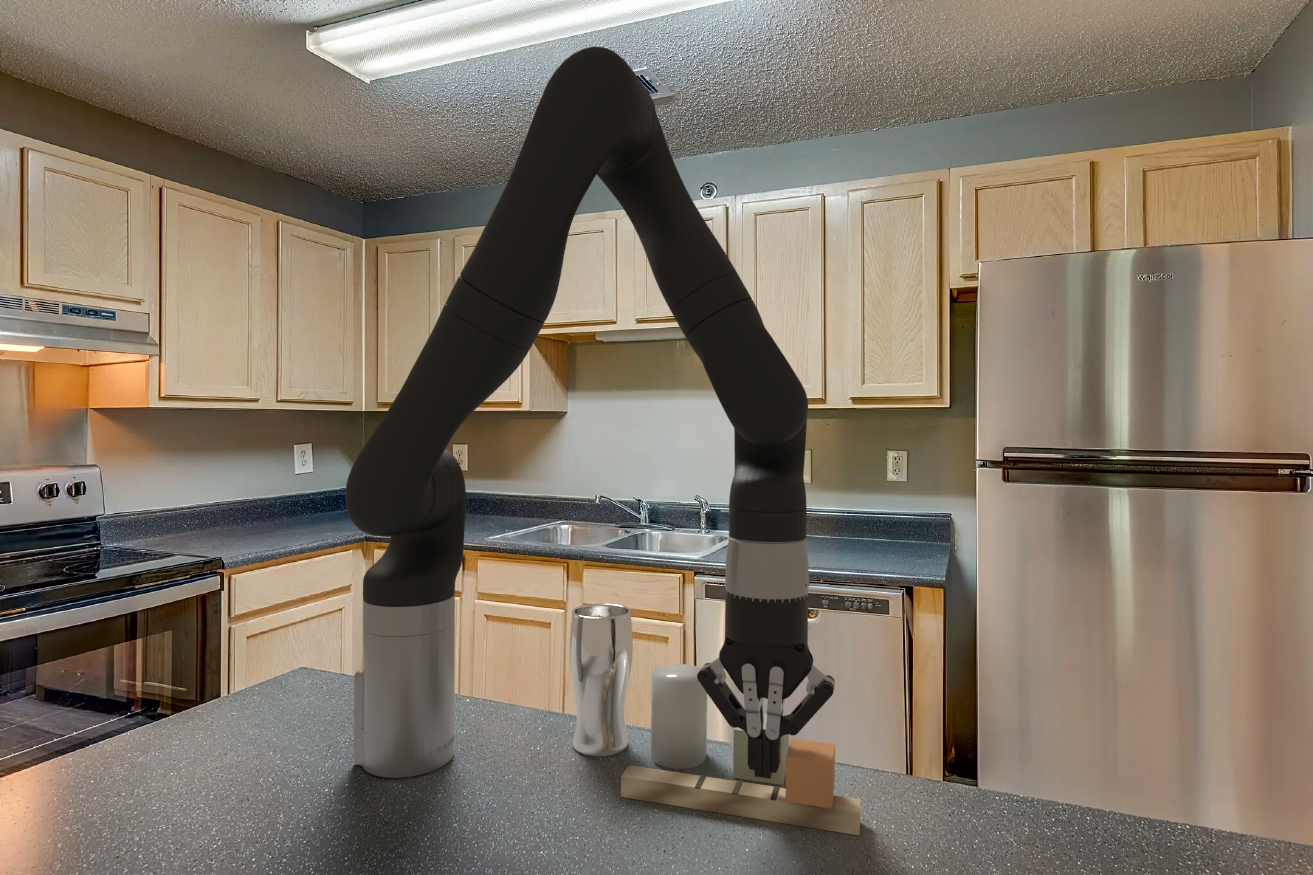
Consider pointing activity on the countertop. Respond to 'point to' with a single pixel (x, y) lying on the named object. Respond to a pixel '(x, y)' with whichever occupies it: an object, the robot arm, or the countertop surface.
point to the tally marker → (810, 773)
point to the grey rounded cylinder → (678, 717)
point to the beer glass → (600, 676)
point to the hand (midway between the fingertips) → (764, 773)
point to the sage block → (741, 758)
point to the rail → (737, 799)
